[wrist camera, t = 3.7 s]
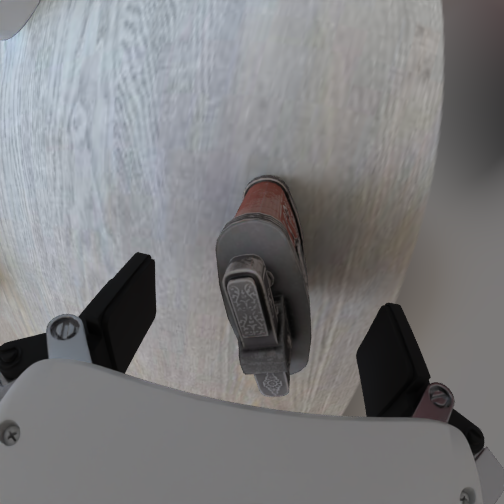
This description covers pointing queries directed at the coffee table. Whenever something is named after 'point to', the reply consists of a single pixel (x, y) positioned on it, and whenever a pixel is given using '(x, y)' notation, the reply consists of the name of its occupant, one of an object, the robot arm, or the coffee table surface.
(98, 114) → the coffee table surface
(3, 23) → the cup
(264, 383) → the lighter
